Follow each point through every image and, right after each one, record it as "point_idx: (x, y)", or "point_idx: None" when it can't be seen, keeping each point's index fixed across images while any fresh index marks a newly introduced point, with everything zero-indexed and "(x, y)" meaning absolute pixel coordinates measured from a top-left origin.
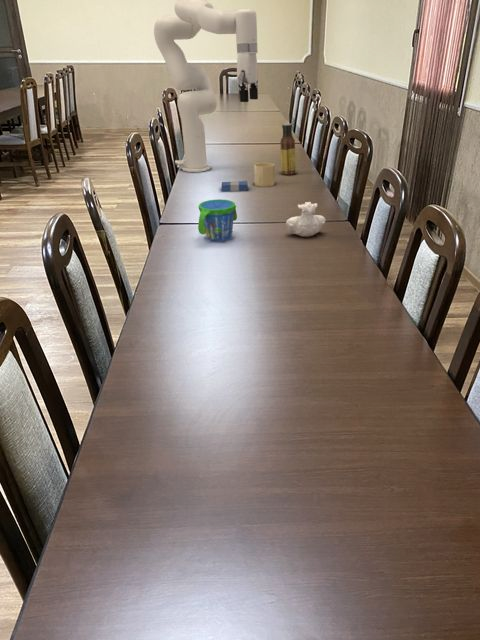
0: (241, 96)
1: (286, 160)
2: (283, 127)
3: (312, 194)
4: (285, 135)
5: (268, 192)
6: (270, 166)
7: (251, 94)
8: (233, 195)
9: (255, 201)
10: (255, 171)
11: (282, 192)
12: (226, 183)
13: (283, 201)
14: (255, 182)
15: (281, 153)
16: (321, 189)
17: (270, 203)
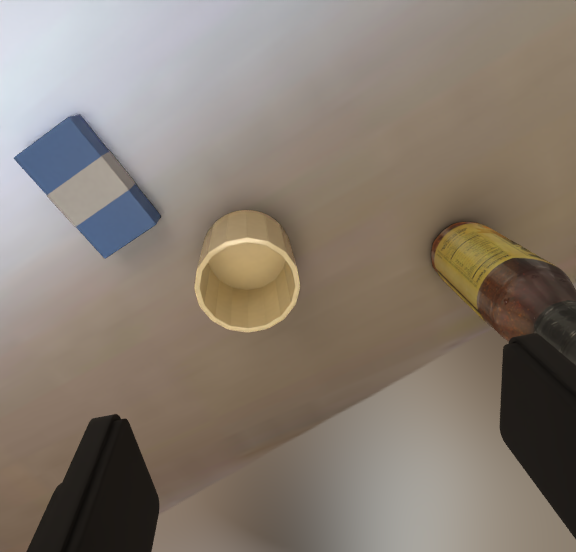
0: (44, 519)
1: (453, 282)
2: (569, 346)
3: (202, 449)
4: (534, 332)
5: (141, 327)
6: (229, 329)
7: (544, 411)
8: (14, 235)
9: (6, 350)
10: (202, 253)
11: (171, 367)
12: (57, 160)
13: (72, 420)
14: (208, 233)
15: (478, 265)
16: (273, 444)
17: (22, 400)
